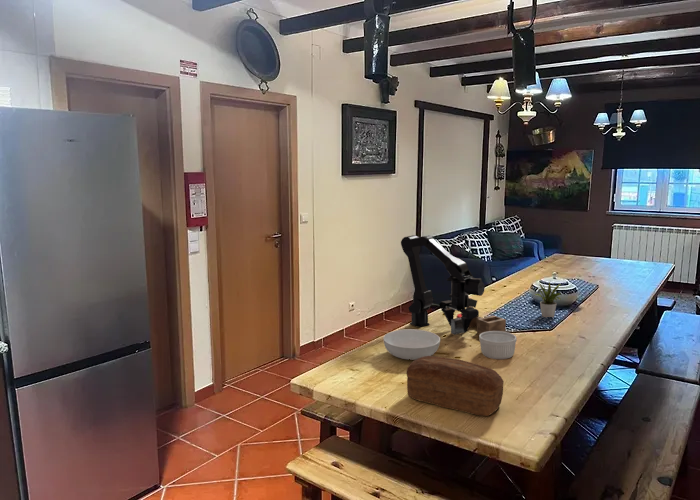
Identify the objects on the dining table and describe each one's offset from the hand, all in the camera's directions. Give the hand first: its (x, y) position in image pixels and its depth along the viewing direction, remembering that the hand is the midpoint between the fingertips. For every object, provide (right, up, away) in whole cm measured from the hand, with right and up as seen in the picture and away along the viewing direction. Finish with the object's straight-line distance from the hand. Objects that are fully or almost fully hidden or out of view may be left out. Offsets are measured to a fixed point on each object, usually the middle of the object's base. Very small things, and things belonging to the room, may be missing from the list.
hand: (458, 328), depth 219 cm
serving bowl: (-22, -7, -24) cm, 33 cm away
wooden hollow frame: (+10, -1, +3) cm, 11 cm away
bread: (-14, -13, -62) cm, 65 cm away
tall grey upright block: (0, -2, 0) cm, 2 cm away
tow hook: (+8, +2, +21) cm, 23 cm away
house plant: (+43, +3, +19) cm, 47 cm away
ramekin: (+9, -6, -25) cm, 27 cm away
